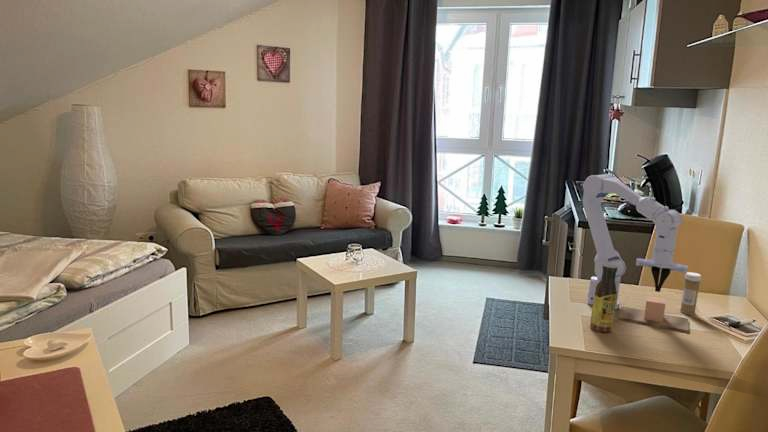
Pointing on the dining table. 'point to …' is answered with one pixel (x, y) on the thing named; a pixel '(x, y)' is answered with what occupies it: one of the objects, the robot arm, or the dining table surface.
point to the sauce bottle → (604, 300)
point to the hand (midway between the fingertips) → (657, 290)
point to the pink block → (654, 309)
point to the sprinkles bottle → (690, 293)
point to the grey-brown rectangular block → (667, 323)
